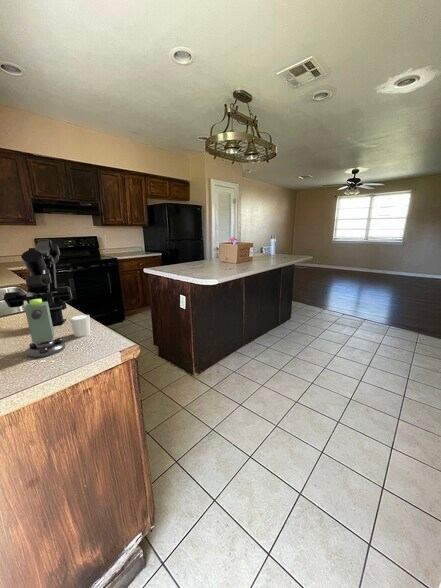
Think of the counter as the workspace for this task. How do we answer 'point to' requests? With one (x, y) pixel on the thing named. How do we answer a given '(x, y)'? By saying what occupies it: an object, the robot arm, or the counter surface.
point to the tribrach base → (45, 348)
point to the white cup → (80, 325)
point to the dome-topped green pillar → (39, 321)
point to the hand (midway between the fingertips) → (40, 317)
